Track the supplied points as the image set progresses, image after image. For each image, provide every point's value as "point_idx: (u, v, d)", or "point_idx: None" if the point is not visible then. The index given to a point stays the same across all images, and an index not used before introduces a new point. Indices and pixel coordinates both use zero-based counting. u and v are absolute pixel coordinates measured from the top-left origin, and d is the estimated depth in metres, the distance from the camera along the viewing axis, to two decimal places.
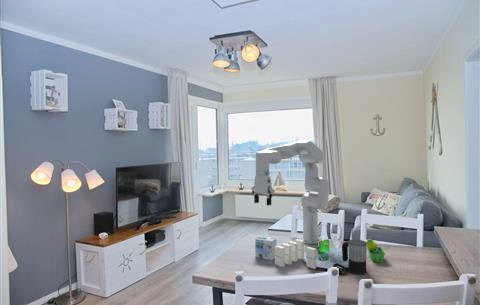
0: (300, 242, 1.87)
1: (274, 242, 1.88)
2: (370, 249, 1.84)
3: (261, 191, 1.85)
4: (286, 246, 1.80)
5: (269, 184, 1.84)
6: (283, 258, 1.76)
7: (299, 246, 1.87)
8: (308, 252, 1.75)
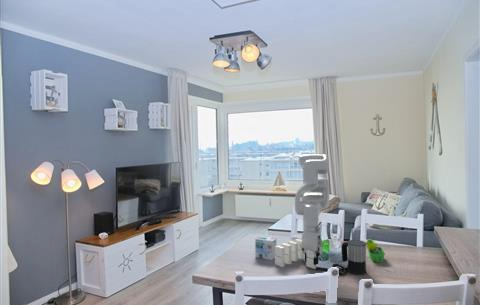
0: (300, 242, 1.87)
1: (274, 242, 1.88)
2: (370, 249, 1.84)
3: (310, 248, 1.72)
4: (286, 246, 1.80)
5: (319, 241, 1.71)
6: (283, 258, 1.76)
7: (299, 246, 1.87)
8: (308, 252, 1.75)
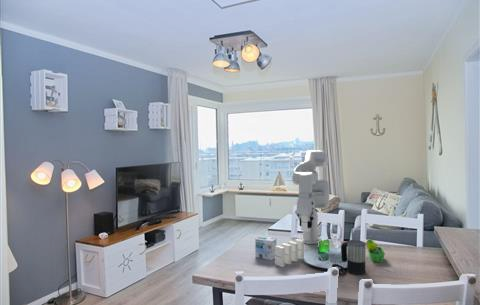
0: (300, 242, 1.87)
1: (274, 242, 1.88)
2: (370, 249, 1.84)
3: (305, 213, 1.90)
4: (286, 246, 1.80)
5: (313, 206, 1.89)
6: (283, 258, 1.76)
7: (299, 246, 1.87)
8: (303, 217, 1.92)
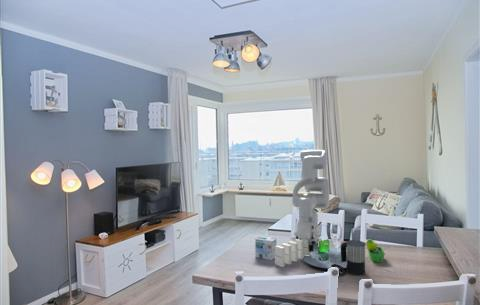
0: (300, 242, 1.87)
1: (274, 242, 1.88)
2: (370, 249, 1.84)
3: (305, 237, 1.90)
4: (286, 246, 1.80)
5: (313, 230, 1.89)
6: (283, 258, 1.76)
7: (299, 246, 1.87)
8: None
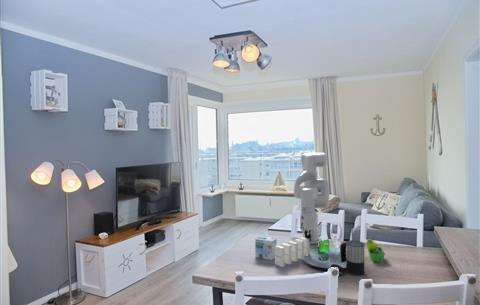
0: (300, 242, 1.87)
1: (274, 242, 1.88)
2: (370, 249, 1.84)
3: None
4: (286, 246, 1.80)
5: (303, 221, 1.90)
6: (283, 258, 1.76)
7: (299, 246, 1.87)
8: None
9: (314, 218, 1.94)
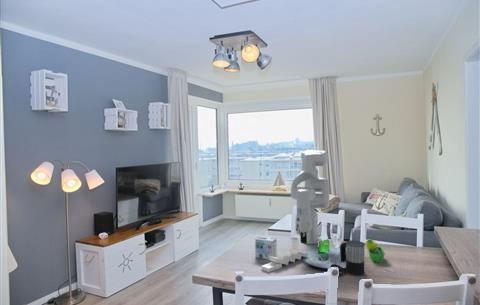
0: None
1: (274, 242, 1.88)
2: (370, 249, 1.84)
3: None
4: (274, 261, 1.74)
5: (298, 222, 1.87)
6: (276, 267, 1.73)
7: (291, 257, 1.83)
8: None
9: (310, 219, 1.91)
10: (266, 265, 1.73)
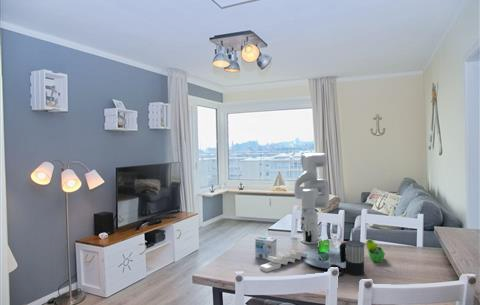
0: None
1: (274, 242, 1.88)
2: (370, 249, 1.84)
3: None
4: (272, 261, 1.75)
5: (303, 221, 1.91)
6: (274, 267, 1.73)
7: None
8: None
9: (315, 219, 1.94)
10: (265, 265, 1.73)
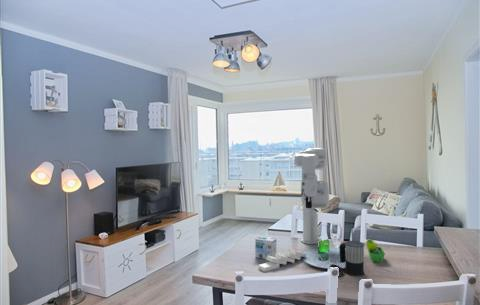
0: (288, 256, 1.80)
1: (274, 242, 1.88)
2: (370, 249, 1.84)
3: None
4: None
5: (303, 187, 1.90)
6: (273, 267, 1.73)
7: (290, 257, 1.82)
8: (292, 253, 1.87)
9: (315, 185, 1.94)
10: (263, 264, 1.74)
